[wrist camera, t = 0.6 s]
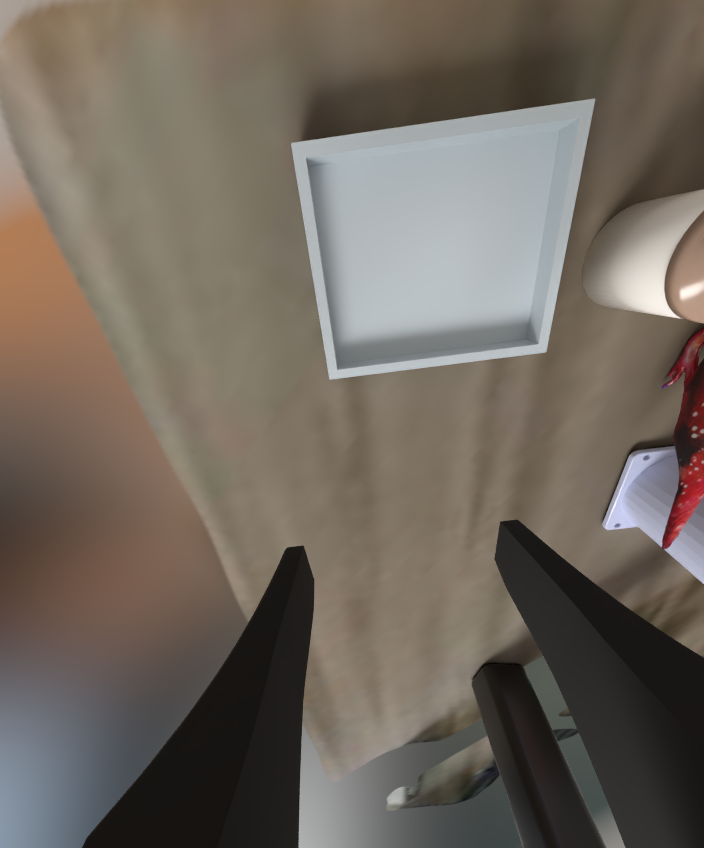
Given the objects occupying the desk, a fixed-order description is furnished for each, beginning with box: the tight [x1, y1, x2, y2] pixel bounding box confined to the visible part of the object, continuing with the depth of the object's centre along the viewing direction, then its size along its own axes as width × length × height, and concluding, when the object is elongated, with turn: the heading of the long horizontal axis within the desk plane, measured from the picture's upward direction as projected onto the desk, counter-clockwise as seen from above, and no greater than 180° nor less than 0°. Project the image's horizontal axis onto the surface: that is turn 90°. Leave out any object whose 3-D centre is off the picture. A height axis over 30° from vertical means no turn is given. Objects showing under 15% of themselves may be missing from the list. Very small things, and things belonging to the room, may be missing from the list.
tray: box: [291, 99, 595, 379], centre depth 15 cm, size 12×10×2 cm
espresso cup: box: [582, 189, 704, 323], centre depth 14 cm, size 5×5×6 cm
